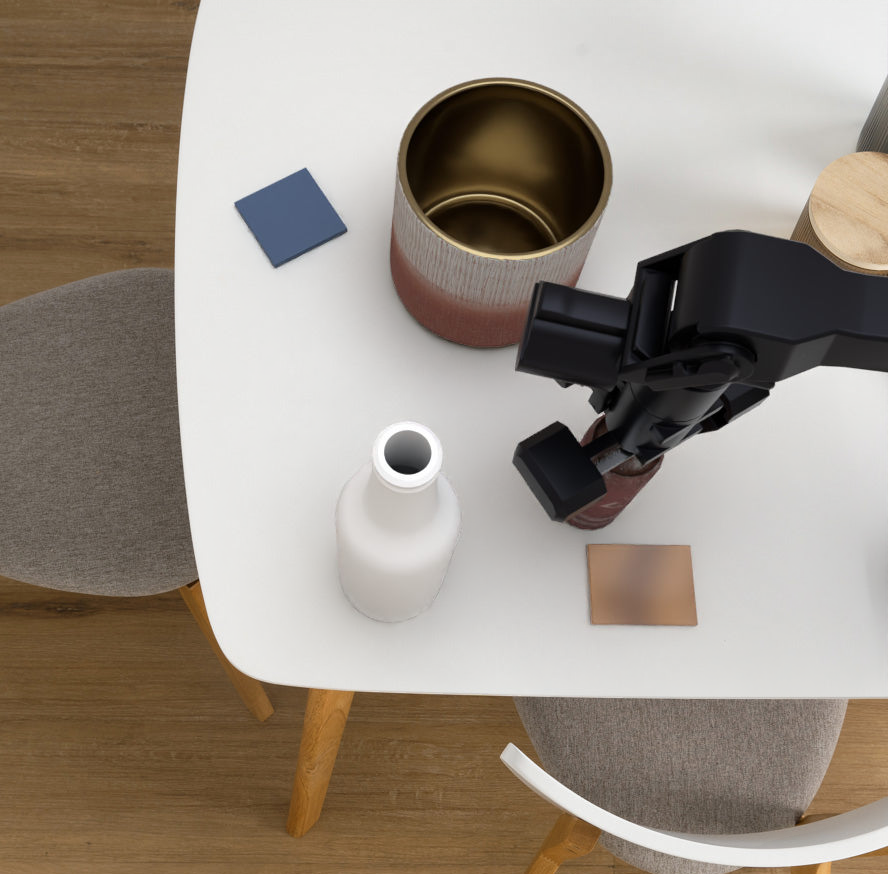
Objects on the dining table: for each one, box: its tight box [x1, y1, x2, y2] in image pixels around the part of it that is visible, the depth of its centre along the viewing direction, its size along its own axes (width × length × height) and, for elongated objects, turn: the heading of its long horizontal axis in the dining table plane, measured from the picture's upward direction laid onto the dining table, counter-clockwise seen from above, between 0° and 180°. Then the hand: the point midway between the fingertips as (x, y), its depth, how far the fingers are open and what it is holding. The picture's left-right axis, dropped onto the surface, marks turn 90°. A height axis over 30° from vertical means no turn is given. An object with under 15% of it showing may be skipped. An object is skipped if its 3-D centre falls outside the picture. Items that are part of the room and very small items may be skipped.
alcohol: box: [334, 421, 463, 623], centre depth 69 cm, size 9×9×30 cm
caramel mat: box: [586, 543, 699, 627], centre depth 83 cm, size 9×7×1 cm
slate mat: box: [233, 166, 348, 269], centre depth 93 cm, size 8×8×1 cm
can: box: [565, 413, 665, 531], centre depth 79 cm, size 6×6×14 cm
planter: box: [389, 76, 614, 348], centre depth 85 cm, size 18×18×16 cm
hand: (613, 462), depth 77 cm, fingers open, 9 cm apart
